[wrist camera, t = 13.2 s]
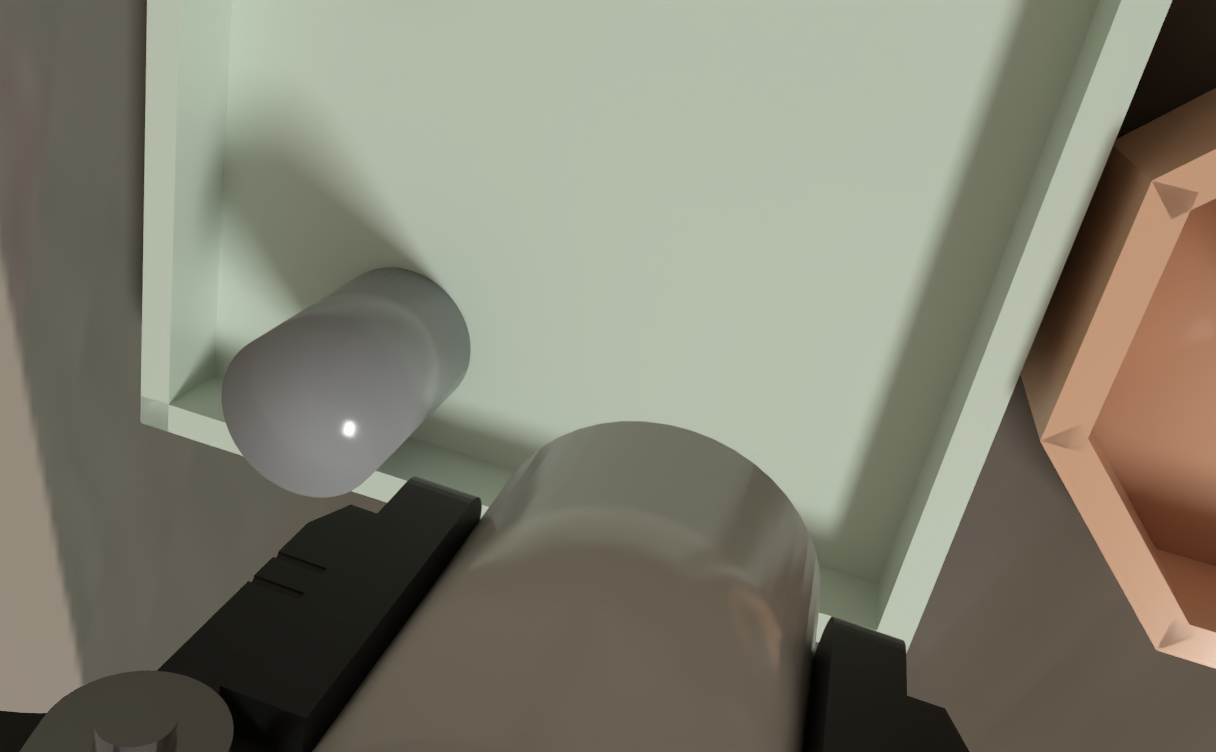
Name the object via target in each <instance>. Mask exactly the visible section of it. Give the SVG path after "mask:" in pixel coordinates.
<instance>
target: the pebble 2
mask: <svg viewBox="0 0 1216 752" xmlns="http://www.w3.org/2000/svg"><path fill="white" fill-rule="evenodd" d="M820 598H821V583H820V571H819V565H818V560H817V554H816V551H815V549H814V546H813V543H812V540H811V537H810V534H809V532H808V530H807V528H806V526H805V524H804V522H803V520H802V518H801V516H800V514H799V513H798V511H797V510H796V509H795V507H794V506H793V504H792V503H791V501H790V500H789V498H788V497H787V496H786V494H785V493H784V492H783V491H782V490H781V489H780V488H779V487H778V485H777V484H776V483H775V482H774V481H773V480H772V479H771V478H770V477H769V476H768V475H767V474H765V473H764V472H763V471H762V470H761V469H760V468H759V467H757V466H756V465H755V464H754V463H753V462H751V461H750V460H748V459H747V458H745V457H744V456H742V455H741V454H739V453H738V452H737V451H735V450H733V449H732V448H730V447H728V446H726V445H724V444H722V443H720V442H718V441H716V440H714V439H712V438H710V437H707V436H704V435H702V434H699V433H697V432H694V431H691V430H688V429H684V428H680V427H676V426H672V425H668V424H661V423H653V422H646V421H619V422H611V423H602V424H597V425H593V426H589V427H585V428H581V429H578V430H575V431H573V432H570V433H568V434H565V435H563V436H560V437H558V438H557V439H555V440H553V441H551V442H550V443H548V444H546V445H545V446H543V447H541V448H540V449H539V450H538V451H536V452H535V453H534V454H533V455H531V456H530V457H529V458H528V459H526V460H525V462H524V463H523V464H522V465H521V466H520V467H519V468H518V469H517V470H516V471H515V472H514V474H513V475H512V476H511V478H510V479H509V480H508V482H507V483H506V485H505V486H504V487H503V489H502V490H501V492H500V493H499V494H498V496H497V497H496V498H495V500H494V501H493V503H492V504H491V505H490V507H489V508H488V509H487V511H486V512H485V514H484V515H483V516H482V518H481V519H480V520H479V522H478V523H477V525H476V526H475V527H474V529H473V530H472V532H471V533H470V534H469V536H468V537H467V538H466V540H465V541H464V543H463V544H462V545H461V547H460V548H459V549H458V551H457V552H456V554H455V555H454V556H453V558H452V559H451V561H450V562H449V563H448V565H447V566H446V567H445V569H444V570H443V572H442V573H441V574H440V576H439V577H438V578H437V580H436V581H435V583H434V584H433V585H432V587H431V588H430V589H429V591H428V592H427V594H426V595H425V596H424V598H423V599H422V601H421V602H420V603H419V605H418V606H417V607H416V609H415V610H414V612H413V613H412V614H411V616H410V617H409V618H408V620H407V621H406V623H405V624H404V625H403V627H402V628H401V630H400V631H399V632H398V634H397V635H396V636H395V638H394V639H393V641H392V642H391V643H390V645H389V646H388V647H387V649H386V650H385V652H384V653H383V654H382V656H381V657H380V658H379V660H378V661H377V663H376V664H375V665H374V667H373V668H372V670H371V671H370V672H369V674H368V675H367V676H366V678H365V679H364V681H363V682H362V683H361V685H360V686H359V687H358V689H357V690H356V692H355V693H354V694H353V696H352V697H351V699H350V700H349V701H348V703H347V704H346V705H345V707H344V708H343V710H342V711H341V712H340V714H339V715H338V716H337V718H336V719H335V721H334V722H333V723H332V725H331V726H330V727H329V729H328V730H327V732H326V733H325V734H324V736H323V737H322V739H321V740H320V741H319V743H318V744H317V745H316V747H315V748H314V750H313V751H312V752H803V750H804V741H805V732H806V723H807V714H808V705H809V696H810V687H811V678H812V670H813V661H814V652H815V643H816V634H817V625H818V616H819V607H820Z"/></svg>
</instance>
